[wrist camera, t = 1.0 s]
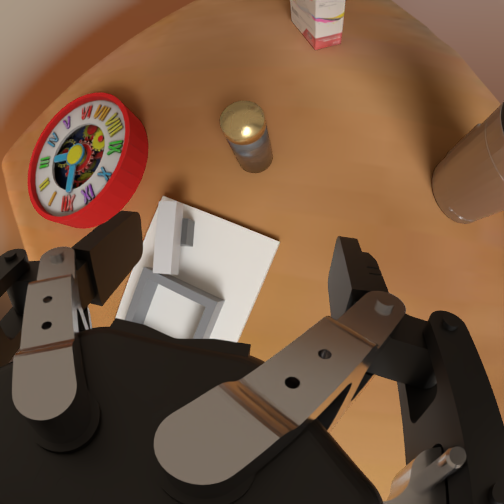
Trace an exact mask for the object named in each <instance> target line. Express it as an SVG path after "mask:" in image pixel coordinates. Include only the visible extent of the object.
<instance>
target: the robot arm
mask: <svg viewBox="0 0 504 504" xmlns="http://www.w3.org/2000/svg"><path fill="white" fill-rule="evenodd" d="M432 188H433V193H434V197H435V199H436V201H437V203H438V205H439V207H440V208H441V210H442V211H443V212H444V213H445V214H446V215H447V216H448V217H449V218H451V219H452V220H453V221H456V222H458V223H464V224H466V223H471V222H474V221H477V220H479V219H482V218H485V217H488V216H490V215H493V214H495V213H498V212H500V211H503V210H504V102H503V103H502V104H501V105H500V106H499V107H498V108H497V109H496V110H495V111H494V112H493V113H492V114H491V115H490V116H489V117H488V118H487V119H486V120H485V121H484V122H483V123H482V124H477V125H476V126H475V127H474V128H473V129H472V130H471V131H470V132H469V133H468V134H467V135H466V136H465V137H464V138H463V139H462V140H460V141H459V142H458V143H457V144H456V145H455V146H454V147H453V148H452V149H451V150H450V151H449V152H448V153H447V156H446V157H445V158H444V159H443V160H442V161H441V162H440V163H439V164H438V165H437V166H436V168H435V170H434V173H433V177H432ZM142 254H143V240H142V230H141V219H140V215H139V213H138V212H131V211H120V212H119V213H117V214H116V215H115V216H113V217H112V218H111V219H109V220H108V221H107V222H105V223H103V224H101V225H99V226H98V227H96V228H95V229H94V230H93V231H92V232H90V233H89V234H88V235H87V236H85V237H84V238H83V239H81V240H80V241H79V242H78V243H76V244H75V245H74V246H73V247H72V248H70V247H57V248H54V249H51V250H49V251H47V252H46V253H44V254H43V255H42V256H41V258H40V261H28V257H27V254H26V251H25V250H23V249H14V250H10V251H8V252H6V253H4V254H3V255H1V256H0V297H1V296H2V295H3V294H4V293H5V292H6V291H7V293H8V295H9V298H10V300H11V303H12V305H13V307H12V308H11V309H10V310H9V312H8V313H7V314H6V315H5V316H4V317H3V319H2V320H1V321H0V504H504V425H503V421H502V418H501V415H500V411H499V408H498V405H497V402H496V399H495V396H494V393H493V390H492V388H491V385H490V382H489V379H488V377H487V374H486V371H485V369H484V366H483V364H482V361H481V359H480V356H479V354H478V352H477V349H476V347H475V345H474V342H473V340H472V338H471V336H470V333H469V331H468V329H467V327H466V325H465V323H464V322H463V321H462V320H461V319H460V318H459V317H457V316H456V315H454V314H452V313H450V312H447V311H435V312H433V313H432V314H431V315H430V317H429V320H428V321H424V320H421V319H418V318H415V317H412V316H409V315H407V314H405V312H406V308H405V305H404V304H403V302H402V301H401V300H400V299H399V298H397V297H396V296H394V295H392V294H390V293H389V292H388V289H387V287H386V284H385V282H384V279H383V276H382V274H381V271H380V269H379V266H378V264H377V261H376V260H375V259H374V258H373V257H372V256H371V255H370V254H369V253H366V252H362V251H361V248H360V245H359V243H358V240H357V239H355V238H348V237H341V236H338V237H337V240H336V244H335V249H334V253H333V258H332V262H331V267H330V271H329V277H328V292H329V301H330V310H331V317H330V316H326V317H324V318H323V319H321V320H320V321H319V322H318V323H316V324H315V325H314V326H312V327H311V328H310V329H309V330H307V331H306V332H305V333H304V334H302V335H301V336H300V337H298V338H297V339H296V340H294V341H293V342H292V343H290V344H289V345H288V346H286V347H285V348H284V349H282V350H281V351H280V352H278V353H277V354H276V355H274V356H273V357H272V358H270V359H269V360H267V361H266V362H264V361H262V360H260V359H258V358H255V357H253V356H250V346H251V344H245V343H238V342H232V341H226V340H220V339H178V338H173V337H171V336H169V335H166V334H164V333H162V332H160V331H157V330H155V329H153V328H151V327H149V326H147V325H144V324H139V323H135V322H131V321H127V320H123V319H118V318H116V319H115V320H114V322H113V323H112V324H111V326H110V327H97V328H92V324H91V317H90V311H89V308H88V305H89V304H90V303H91V304H95V305H99V306H103V305H104V303H105V302H106V301H107V300H108V298H109V297H110V296H111V295H112V293H113V292H114V291H115V290H116V288H117V287H118V286H119V285H120V283H121V282H122V281H123V280H124V279H125V277H126V276H127V275H128V274H129V273H130V271H131V270H132V269H133V268H134V267H135V266H136V264H137V263H138V262H139V261H140V259H141V257H142ZM19 348H20V351H19V352H18V353H16V352H17V350H18V349H19ZM15 353H16V354H15ZM13 356H14V360H13V362H11V363H9V361H10V360H11V359H12V357H13ZM375 375H378V376H381V377H384V378H387V379H391V380H394V381H397V385H398V391H399V399H400V406H401V414H402V423H403V433H404V443H405V456H406V466H405V467H404V468H403V469H402V470H401V471H399V472H398V473H397V474H396V476H395V477H394V479H393V481H392V484H391V491H390V494H389V497H388V499H387V501H384V502H383V501H382V498H381V496H380V494H379V492H378V490H377V489H376V487H375V486H374V485H373V484H372V482H371V481H370V480H369V479H368V478H367V477H366V476H365V475H364V473H363V472H362V471H361V470H360V469H359V468H358V467H357V465H356V464H355V463H354V462H353V461H352V460H351V458H350V457H349V456H348V455H347V454H346V453H345V451H344V450H343V449H342V448H341V447H340V445H339V444H338V443H337V442H336V441H335V440H334V438H333V437H332V436H331V435H330V434H329V433H330V432H331V430H332V429H333V428H334V427H335V426H336V424H337V423H338V422H339V420H340V419H341V417H342V416H343V415H344V413H345V412H346V411H347V409H348V408H349V407H350V406H351V405H352V404H353V402H354V401H355V400H356V399H357V398H358V396H359V395H360V394H361V393H362V392H363V390H364V389H365V388H366V387H367V385H368V384H369V383H370V382H371V380H372V379H373V378H374V377H375Z"/></svg>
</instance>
